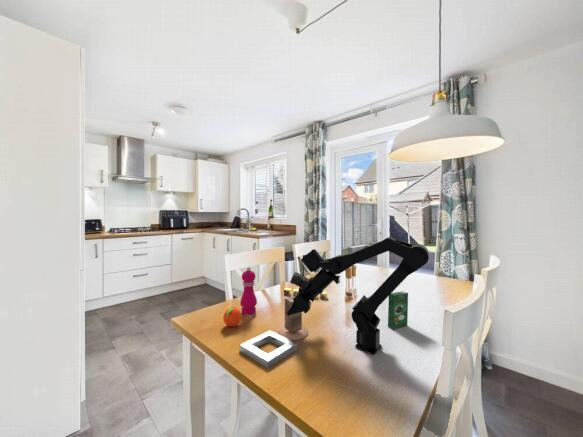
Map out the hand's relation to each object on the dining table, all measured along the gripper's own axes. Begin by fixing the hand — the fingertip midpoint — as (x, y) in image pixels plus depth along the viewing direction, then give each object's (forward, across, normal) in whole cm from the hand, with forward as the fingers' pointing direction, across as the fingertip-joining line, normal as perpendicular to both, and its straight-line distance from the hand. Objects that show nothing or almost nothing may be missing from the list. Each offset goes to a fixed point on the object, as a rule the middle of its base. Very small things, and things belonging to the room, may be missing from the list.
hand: (289, 310), depth 91 cm
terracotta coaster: (+5, 0, +6) cm, 8 cm away
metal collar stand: (+8, +13, +3) cm, 16 cm away
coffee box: (-22, -13, +34) cm, 43 cm away
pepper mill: (+21, -14, -10) cm, 27 cm away
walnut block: (+4, 0, +6) cm, 7 cm away
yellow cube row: (+6, -39, +6) cm, 40 cm away
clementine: (+22, 0, -10) cm, 24 cm away
